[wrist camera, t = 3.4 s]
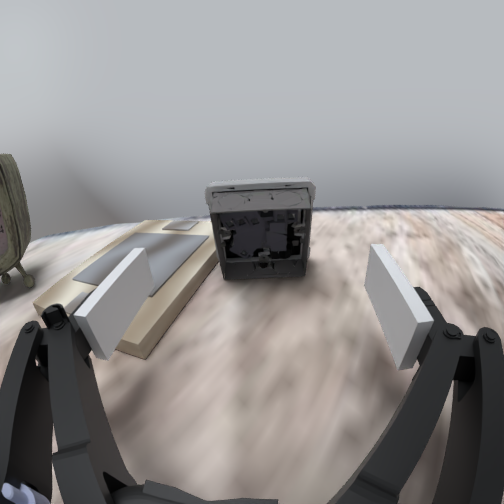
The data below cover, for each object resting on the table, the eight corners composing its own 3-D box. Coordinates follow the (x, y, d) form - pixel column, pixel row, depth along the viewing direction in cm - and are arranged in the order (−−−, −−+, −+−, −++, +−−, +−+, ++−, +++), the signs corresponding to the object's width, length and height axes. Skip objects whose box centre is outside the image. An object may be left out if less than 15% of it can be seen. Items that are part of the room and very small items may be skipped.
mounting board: (240, 233, 35) (239, 220, 35) (145, 359, 16) (137, 342, 16) (147, 229, 39) (144, 218, 38) (38, 314, 20) (31, 301, 20)
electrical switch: (308, 257, 28) (310, 171, 24) (316, 289, 24) (323, 190, 19) (219, 261, 29) (207, 177, 24) (213, 293, 25) (196, 197, 20)
